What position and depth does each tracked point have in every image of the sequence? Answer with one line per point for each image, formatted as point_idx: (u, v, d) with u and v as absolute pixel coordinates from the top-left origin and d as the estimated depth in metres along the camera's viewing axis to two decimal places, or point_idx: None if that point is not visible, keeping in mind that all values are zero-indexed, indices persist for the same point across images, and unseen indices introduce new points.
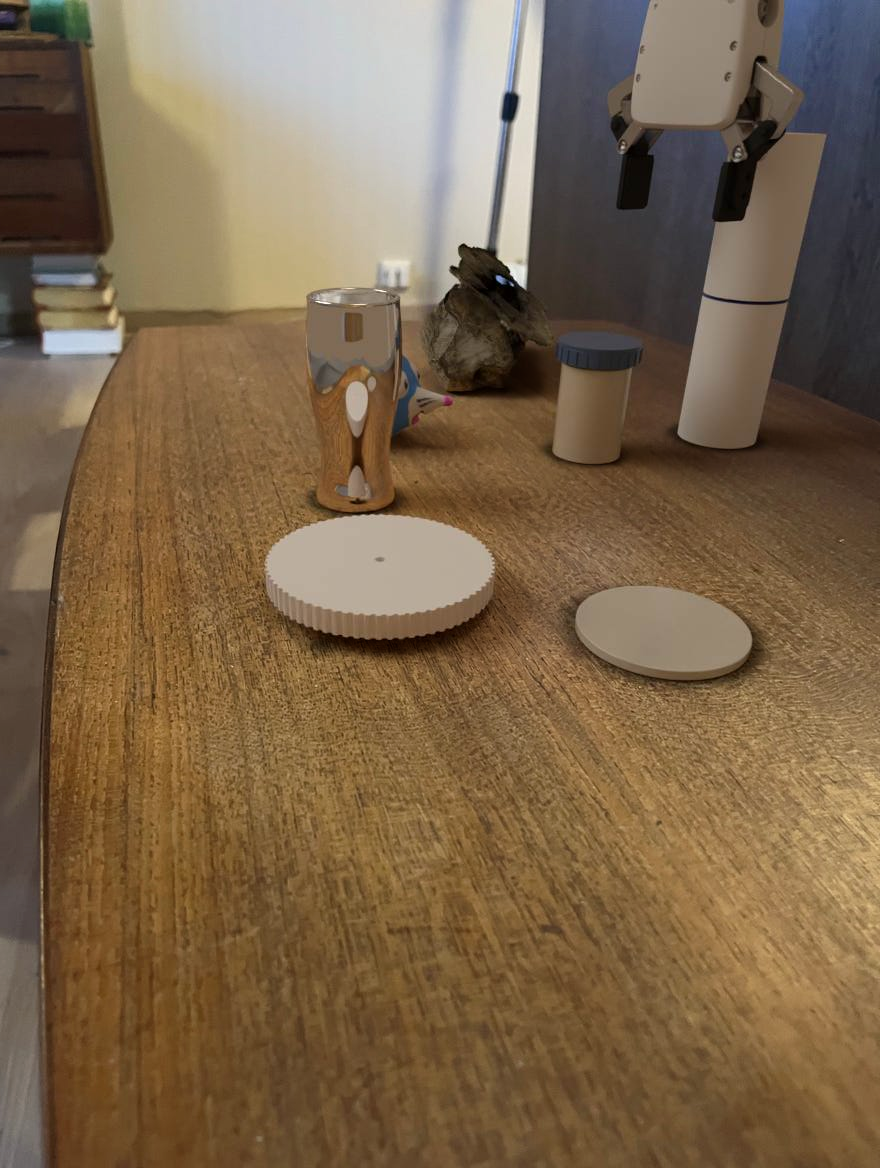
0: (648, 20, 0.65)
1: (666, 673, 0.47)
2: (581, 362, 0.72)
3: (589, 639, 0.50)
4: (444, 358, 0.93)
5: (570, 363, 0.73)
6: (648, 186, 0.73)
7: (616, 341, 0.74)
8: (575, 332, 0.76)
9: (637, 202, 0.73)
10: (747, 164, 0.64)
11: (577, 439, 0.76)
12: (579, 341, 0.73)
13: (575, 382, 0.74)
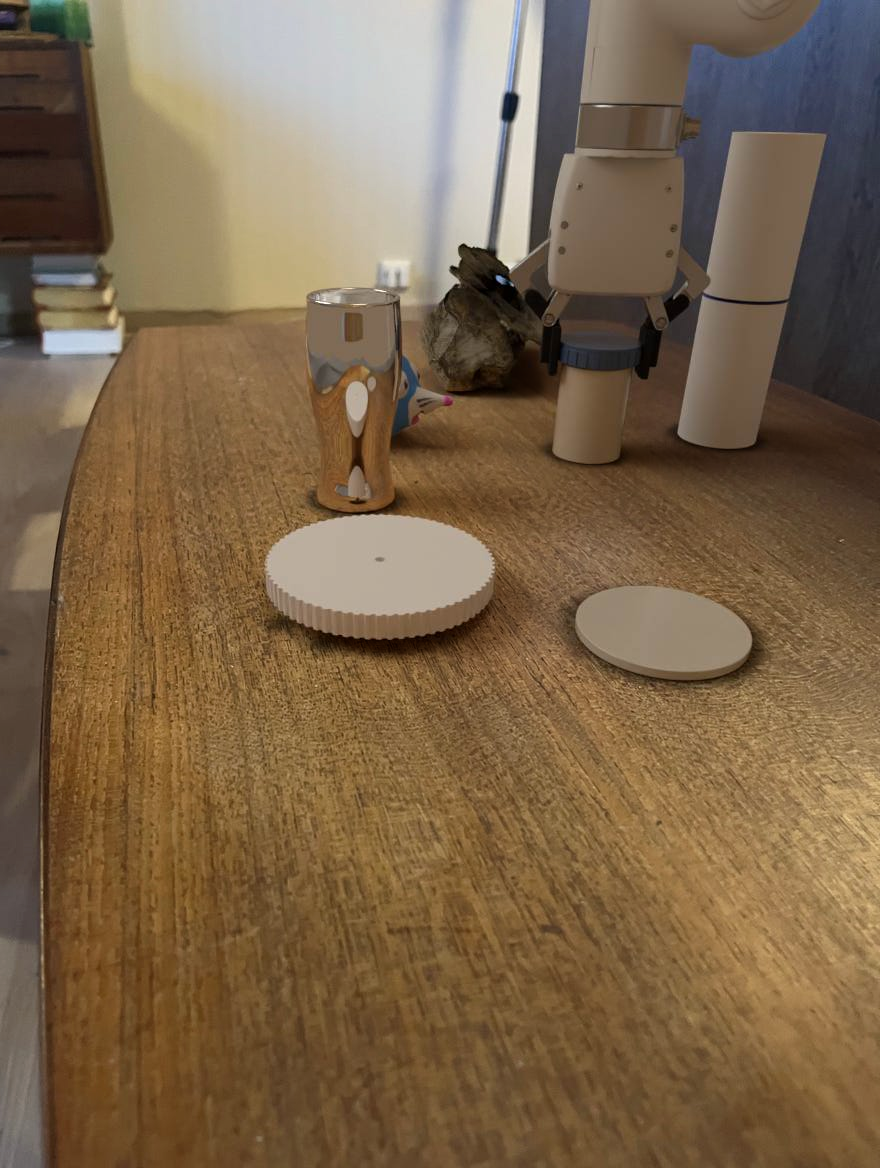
0: (571, 198, 0.67)
1: (666, 673, 0.47)
2: (581, 362, 0.72)
3: (589, 639, 0.50)
4: (444, 358, 0.93)
5: (570, 363, 0.73)
6: None
7: (616, 341, 0.74)
8: (575, 332, 0.76)
9: None
10: None
11: (577, 439, 0.76)
12: (579, 341, 0.73)
13: (575, 382, 0.74)
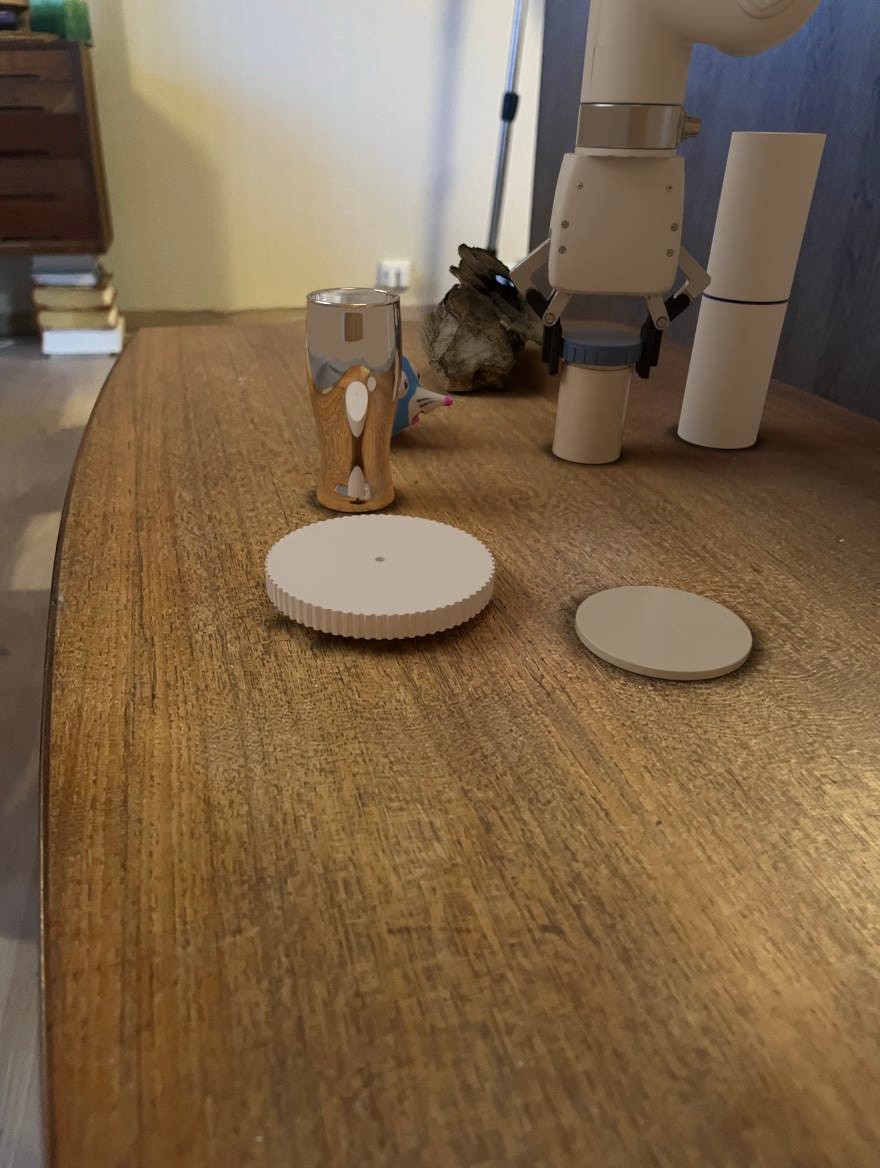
0: (571, 198, 0.67)
1: (666, 673, 0.47)
2: (640, 355, 0.73)
3: (589, 639, 0.50)
4: (444, 358, 0.93)
5: (636, 361, 0.73)
6: None
7: (599, 333, 0.75)
8: (575, 341, 0.72)
9: None
10: None
11: (578, 439, 0.76)
12: (616, 341, 0.72)
13: (575, 382, 0.74)
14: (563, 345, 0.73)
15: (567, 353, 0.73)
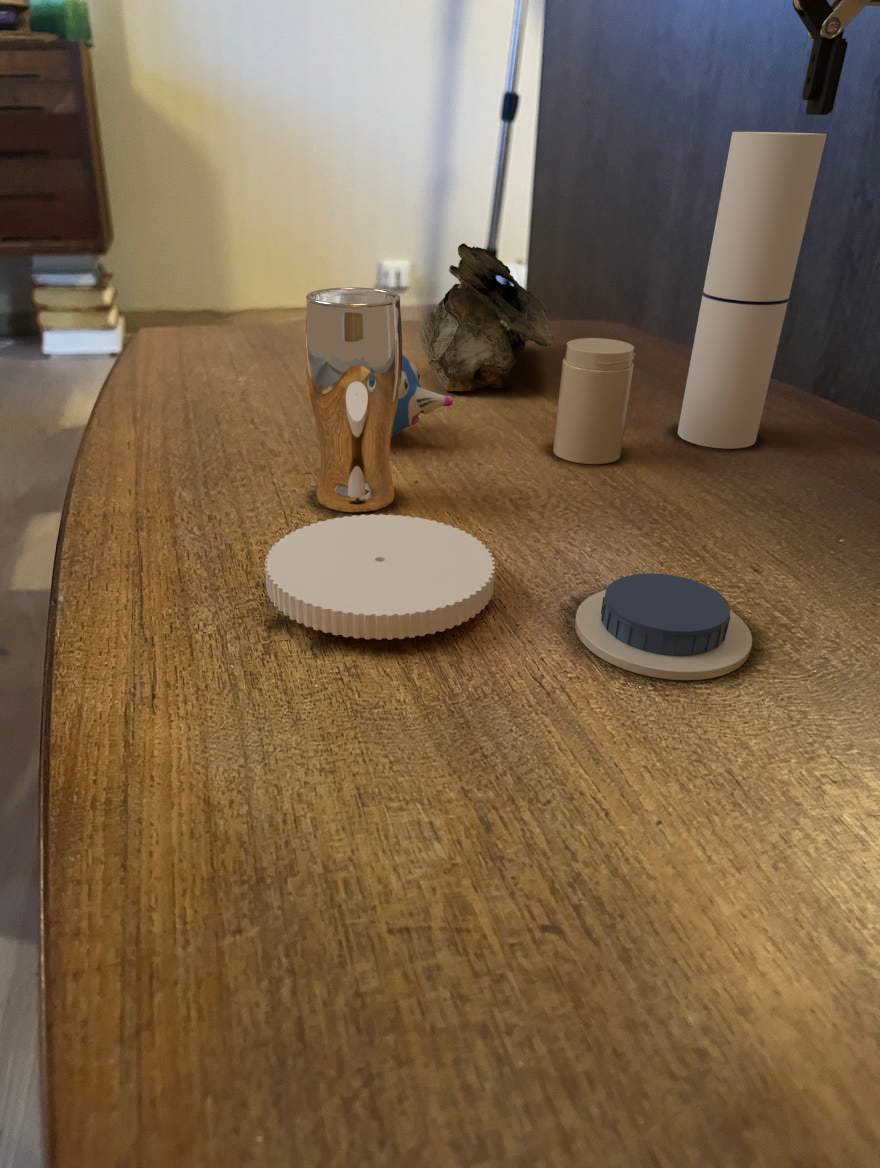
0: None
1: (666, 673, 0.47)
2: None
3: (589, 639, 0.50)
4: (444, 358, 0.93)
5: None
6: None
7: (671, 611, 0.49)
8: (700, 584, 0.52)
9: None
10: (815, 42, 0.55)
11: (580, 440, 0.76)
12: (643, 586, 0.52)
13: (577, 383, 0.74)
14: None
15: None
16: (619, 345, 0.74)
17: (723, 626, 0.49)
